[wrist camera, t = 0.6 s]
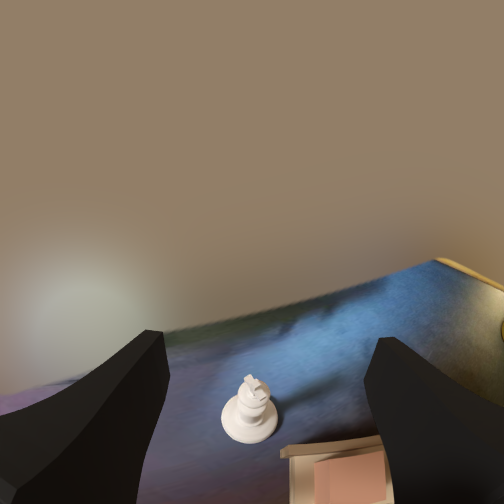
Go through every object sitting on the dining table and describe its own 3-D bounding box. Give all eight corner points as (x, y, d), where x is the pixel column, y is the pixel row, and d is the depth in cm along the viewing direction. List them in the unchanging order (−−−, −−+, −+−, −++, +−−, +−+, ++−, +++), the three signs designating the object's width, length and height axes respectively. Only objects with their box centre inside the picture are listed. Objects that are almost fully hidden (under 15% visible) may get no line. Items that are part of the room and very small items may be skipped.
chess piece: (257, 384, 24) (266, 332, 17) (288, 424, 21) (316, 392, 14) (211, 409, 22) (196, 370, 15) (241, 453, 19) (242, 440, 12)
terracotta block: (363, 498, 14) (386, 499, 11) (314, 506, 14) (330, 511, 11) (361, 456, 17) (383, 450, 14) (314, 462, 17) (329, 459, 14)
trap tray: (459, 517, 10) (487, 514, 7) (277, 569, 10) (285, 585, 7) (451, 420, 20) (477, 406, 16) (280, 450, 19) (288, 444, 16)
